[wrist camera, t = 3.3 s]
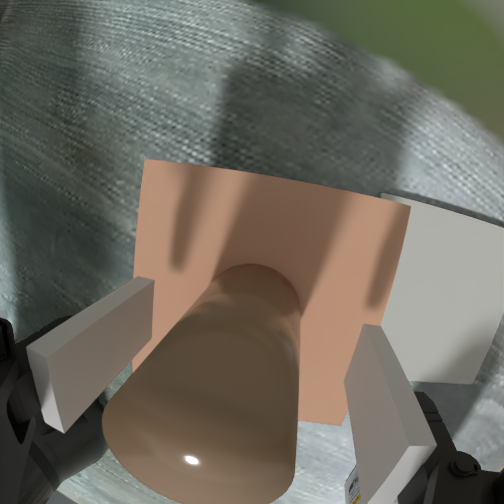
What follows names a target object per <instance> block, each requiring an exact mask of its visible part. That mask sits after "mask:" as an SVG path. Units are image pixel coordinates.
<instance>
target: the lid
mask: <svg viewBox="0 0 504 504" xmlns="http://www.w3.org/2000/svg"><path fill="white" fill-rule="evenodd" d="M410 210H411V206H409V205H406V204H402V203H398V202H394V201H390V200H385V199H381V198H377V197H373V196H368V195H364V194H360V193H355V192H351V191H346V190H341V189H337V188H332V187H327V186H322V185H317V184H312V183H307V182H302V181H296V180H291V179H285V178H280V177H274V176H268V175H262V174H256V173H250V172H243V171H237V170H230V169H223V168H216V167H209V166H201V165H193V164H185V163H177V162H168V161H158V160H149V159H145V163H144V170H143V177H142V185H141V193H140V201H139V211H138V221H137V232H136V244H135V259H134V277H133V279H134V278H136V277H138V276H140V277H144V278H148V279H152V280H155V283H154V299H153V318H152V339H151V340H150V341H149V342H148V343H147V344H146V345H145V346H144V347H143V348H142V349H141V351H140V352H139V353H138V354H137V355H136V356H135V357H134V358H133V359H132V364H133V374H132V375H131V376H130V377H129V378H128V379H127V381H126V382H125V383H124V384H123V385H122V386H121V387H120V389H119V390H118V391H117V392H116V393H115V394H114V396H113V397H112V398H111V399H110V400H109V401H108V403H107V405H106V406H105V408H104V412H103V415H102V429H103V433H104V437H105V440H106V442H107V444H108V446H109V448H110V450H111V452H112V453H113V455H114V456H115V457H116V459H117V460H118V461H119V463H120V464H121V465H122V466H123V467H124V468H125V469H126V470H127V471H128V472H129V473H130V474H131V475H132V476H133V477H135V478H136V479H137V480H138V481H140V482H141V483H142V484H144V485H145V486H147V487H148V488H150V489H152V490H153V491H155V492H157V493H158V494H160V495H162V496H165V497H167V498H169V499H171V500H174V501H176V502H179V503H182V504H269V503H271V502H273V501H275V500H276V499H278V498H279V497H280V496H282V495H283V494H284V493H285V492H286V491H287V490H288V488H289V487H290V485H291V484H292V481H293V478H294V473H295V460H296V444H297V426H298V420H300V421H306V422H314V423H321V424H329V425H338V426H341V425H342V422H343V420H344V418H345V416H346V413H347V411H348V403H347V397H346V391H345V386H344V378H345V375H346V373H347V370H348V367H349V364H350V362H351V359H352V356H353V353H354V350H355V347H356V344H357V341H358V338H359V335H360V332H361V329H362V326H363V323H365V324H371V325H377V326H380V325H381V322H382V319H383V315H384V312H385V309H386V306H387V302H388V299H389V296H390V292H391V289H392V285H393V282H394V278H395V274H396V271H397V267H398V263H399V259H400V255H401V251H402V247H403V243H404V238H405V234H406V230H407V225H408V220H409V215H410Z"/></svg>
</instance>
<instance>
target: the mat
mask: <svg viewBox="0 0 504 504" xmlns="http://www.w3.org/2000/svg"><path fill="white" fill-rule="evenodd" d="M380 198H381V199H385V200H390V201H394V202H398V203H402V204H406V205H409V206H411V210H410V215H409V220H408V225H407V230H406V234H405V238H404V243H403V247H402V251H401V255H400V259H399V263H398V267H397V271H396V274H395V278H394V282H393V285H392V289H391V292H390V296H389V299H388V302H387V306H386V309H385V312H384V315H383V319H382V322H381V325H380V326H381V327H382V329H383V331H384V333H385V335H386V337H387V338H388V340H389V342H390V344H391V346H392V348H393V350H394V352H395V354H396V356H397V358H398V360H399V362H400V364H401V366H402V369H403V371H404V373H405V375H406V377H407V379H408V381H420V382H434V383H452V384H473V382H474V380H475V378H476V376H477V374H478V372H479V370H480V368H481V366H482V364H483V362H484V359H485V357H486V355H487V353H488V351H489V348H490V346H491V344H492V341H493V339H494V336H495V334H496V331H497V329H498V326H499V324H500V321H501V318H502V316H503V313H504V228H502V227H500V226H497V225H494V224H491V223H488V222H485V221H482V220H479V219H475V218H472V217H469V216H466V215H463V214H459V213H456V212H453V211H449V210H446V209H443V208H439V207H436V206H432V205H429V204H425V203H421V202H418V201H414V200H410V199H407V198H403V197H399V196H395V195H391V194H387V193H383V192H381V194H380Z"/></svg>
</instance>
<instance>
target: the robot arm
mask: <svg viewBox="0 0 504 504" xmlns="http://www.w3.org/2000/svg"><path fill="white" fill-rule="evenodd" d="M154 283H155V280H152V279H148V278H144V277H140V276H138V277H136V278H134V279H133V280H131V281H129V282H128V283H126V284H124V285H123V286H121V287H119V288H118V289H116V290H115V291H113V292H111V293H110V294H108V295H106V296H105V297H103V298H102V299H100V300H98V301H97V302H95V303H94V304H92V305H90V306H89V307H87V308H86V309H84V310H82V311H81V312H79V313H78V314H76V315H75V316H71V315H69V316H66V317H62V318H59V319H56V320H55V321H53V322H52V323H50V324H48V326H47V327H46V326H45V327H44V328H42V329H40V331H37V332H35V333H34V334H32V335H31V336H29V337H28V338H26V339H24V340H23V341H21V342H20V343H18V344H17V345H16V344H15V339H14V333H13V328H12V325H11V323H10V322H9V321H8V320H6V319H3V318H0V504H46V503H47V501H48V500H49V498H50V497H51V496H52V494H53V493H54V492H55V490H56V489H57V488H58V487H59V485H60V484H61V483H62V482H63V481H64V480H66V479H68V478H69V477H71V476H73V475H75V474H77V473H78V472H80V471H82V470H84V469H85V468H87V467H88V466H90V465H92V464H94V463H95V462H97V461H98V460H100V459H101V458H102V456H103V455H104V453H105V452H106V451H107V449H108V448H109V446H108V444H107V442H106V440H105V437H104V433H103V429H102V415H103V412H104V411H103V409H102V407H101V406H100V404H99V403H98V401H97V400H96V398H97V397H98V396H99V395H100V394H101V393H102V392H103V391H104V389H105V388H106V387H107V386H108V385H109V384H110V383H111V382H112V381H113V380H114V379H115V378H116V376H117V375H118V374H119V373H120V372H121V371H122V370H123V369H124V368H125V367H126V366H127V365H128V363H129V362H130V361H131V360H132V359H133V358H134V357H135V356H136V355H137V354H138V353H139V352H140V351H141V349H142V348H143V347H144V346H145V345H146V344H147V343H148V342H149V341H150V340H151V339H152V318H153V299H154ZM344 386H345V391H346V397H347V403H348V409H349V415H350V421H351V428H352V434H353V441H354V448H355V455H356V463H357V470H358V478H359V487H360V495H361V504H392V503H393V502H394V501H395V500H396V498H397V499H398V504H504V468H503V470H502V471H501V472H492V471H484V470H481V466H480V464H479V463H478V461H477V460H476V459H475V458H473V457H472V456H471V455H469V454H467V453H465V452H462V451H457V450H456V448H455V446H454V443H453V441H452V439H451V437H450V435H449V433H448V431H447V429H446V427H445V424H444V423H442V418H441V416H440V414H438V410H437V408H436V406H435V404H434V402H433V401H432V400H431V399H430V398H429V397H428V396H427V395H426V394H425V393H424V392H414V391H413V390H412V387H411V385H410V383H409V381H408V379H407V377H406V375H405V373H404V371H403V369H402V366H401V364H400V362H399V360H398V358H397V356H396V354H395V352H394V350H393V348H392V346H391V344H390V342H389V340H388V338H387V337H386V335H385V333H384V331H383V329H382V327H381V326H377V325H371V324H365V323H363V326H362V329H361V332H360V335H359V338H358V341H357V344H356V347H355V350H354V353H353V356H352V359H351V362H350V364H349V367H348V370H347V373H346V375H345V378H344Z"/></svg>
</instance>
